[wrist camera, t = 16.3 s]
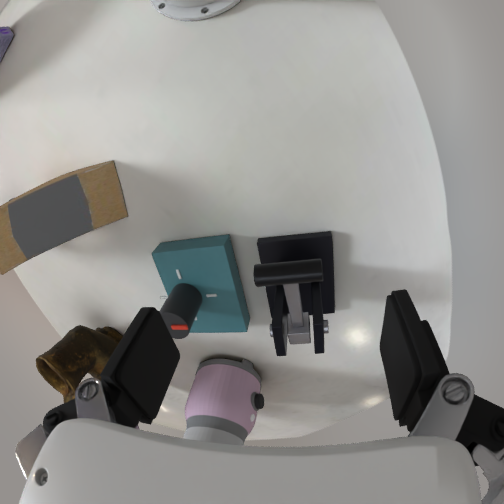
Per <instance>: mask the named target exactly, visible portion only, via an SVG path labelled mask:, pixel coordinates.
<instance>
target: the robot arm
mask: <svg viewBox="0 0 504 504" xmlns="http://www.w3.org/2000/svg"><path fill="white" fill-rule="evenodd" d="M240 1H241V0H150V2H151V4H152V6H153V7H154V8H155V9H156V10H157V11H158V12H160V13H161V14H163V15H165V16H167V17H169V18H172V19H176V20H181V21H194V20H202V19H206V18H210V17H213V16H216V15H218V14H221V13H223V12H225V11H227V10H228V9H230V8H232V7H233V6H234V5H236V4H237V3H239V2H240ZM206 11H208V12H207V13H206V14H205V12H206ZM380 352H381V357H382V361H383V365H384V370H385V374H386V379H387V384H388V389H389V394H390V399H391V404H392V409H393V416H394V419H395V420H399V425H400V426H405V425H407V429H408V431H409V432H410V434H409V435H408V437H399V438H392V439H384V440H376V441H368V442H360V443H351V444H341V445H340V444H339V445H326V446H308V447H264V446H244V445H231V444H221V443H212V442H204V441H197V440H190V439H184V438H178V437H172V436H167V435H161V434H157V433H152V432H148V431H144V430H140V429H139V427H138V423H139V421H140V422H142V423H146V424H151V423H152V420H153V419H155V418H156V416H157V414H158V412H159V409H160V406H161V404H162V401H163V399H164V396H165V394H166V391H167V389H168V386H169V384H170V381H171V379H172V376H173V374H174V371H175V369H176V367H177V364H178V362H179V359H180V353H179V350H178V348H177V346H176V345H175V343H174V341H173V339H172V337H171V335H170V333H169V330H168V328H167V326H166V324H165V322H164V320H163V318H162V316H161V314H160V312H159V311H157V310H156V308H154V307H143V308H141V309H140V311H139V312H138V314H137V315H136V317H135V318H134V320H133V321H132V323H131V325H130V326H129V328H128V329H127V331H126V332H125V334H124V336H123V337H122V339H121V340H120V342H119V344H118V345H117V347H116V349H115V350H114V352H113V354H112V355H111V357H110V359H109V360H108V362H107V364H106V365H105V367H104V369H103V370H102V372H101V374H100V376H101V378H102V379H101V381H100V380H98V379H96V378H89V379H86V380H84V381H82V382H81V383H80V384H79V385H78V387H77V389H76V391H75V398H74V399H72V400H70V401H68V402H66V403H64V404H62V405H60V406H58V407H55V408H54V409H52V410H50V411H49V412H48V413H47V414H46V416H45V417H44V421H43V426H42V425H41V424H40V425H39V426H38V427H36V429H34V430H33V431H32V432H30V433H29V434H28V435H27V436H26V437H25V438H23V439H22V440H21V441H20V442H19V443H18V444H17V446H16V451H15V452H16V457H17V459H18V462H19V464H20V467H21V469H22V471H23V474H24V476H25V478H26V480H27V482H26V485H25V487H24V490H23V493H22V496H21V499H20V502H19V504H504V409H503V408H502V407H499V406H497V405H495V404H493V403H491V402H489V401H487V400H485V399H483V398H481V397H479V396H477V395H475V394H474V386H473V384H472V382H471V381H470V379H469V378H468V377H466V376H464V375H463V374H458V373H453V374H449V371H448V368H447V366H446V363H445V360H444V358H443V355H442V353H441V350H440V348H439V345H438V343H437V341H436V338H435V336H434V334H433V332H432V329H431V327H430V325H429V323H428V321H426V320H423V321H421V320H420V318H419V315H418V313H417V311H416V309H415V307H414V304H413V302H412V300H411V298H410V296H409V294H408V292H407V290H397V291H392V293H391V295H388V296H387V299H386V307H385V314H384V321H383V328H382V334H381V340H380ZM475 466H480V467H481V468H482V469H483V471H484V473H483V474H484V476H485V477H486V478H487V480H488V481H489V489H488V492H487V494H486V495H485V497H484V498H483V499H482V500H481V493H480V487H479V481H478V476H477V472H476V469H475Z"/></svg>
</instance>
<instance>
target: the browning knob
mask: <svg viewBox="0 0 504 504" xmlns="http://www.w3.org/2000/svg"><path fill="white" fill-rule="evenodd" d="M201 304H202V295H201V293H200V292H199V290H198V289H197V288H195V287H194V286H192V285H190V284H186V283H180V284H177V285H176V286H174V288H173V289H172V291H171V293H170V294H169V296H168V298H167V299H166V301H165V303H164V305H163V306H162V308H161V310H160V311H159V312H160V314H161V316H162V318H163V320H164V322H165V324H166V326H167V328H168V330H169V333H170V335H171V337H172V338H175V339H182V338H185V337H186V336H187V335H188V334H189V332H190V329H191V327H192V325H193V322H194V320H195V318H196V315H197V313H198V311H199V308H200V306H201Z"/></svg>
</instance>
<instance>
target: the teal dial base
mask: <svg viewBox="0 0 504 504" xmlns="http://www.w3.org/2000/svg"><path fill="white" fill-rule="evenodd" d="M152 256H153V259H154V262H155V264H156V267H157V270H158V272H159V275H160V277H161V280H162V282H163V285H164V287H165V290H166V292H167V295H168V296H169V294H170V293H171V291H172V289H173V288H174V286H176V285H177V284H180V283H186V284H190V285H192V286H194V287H195V288H197V289H198V290H199V292H200V293H201V295H202V304H201V306H200V308H199V311H198V313H197V315H196V318H195V320H194V322H193V325H192V327H191V329H190V332H189V333H223V332H247V330H248V325H249V320H250V317H249V313H248V309H247V305H246V301H245V297H244V293H243V289H242V285H241V281H240V277H239V273H238V269H237V264H236V260H235V256H234V252H233V248H232V244H231V240H230V236H229V234H228V235H220V236H212V237H203V238H195V239H187V240H179V241H171V242H163V243H160V244H159V245H158V246H157V247H156V249H155V250H154V251H153V252H152ZM168 296H160V299H167V298H168Z"/></svg>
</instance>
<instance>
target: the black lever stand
mask: <svg viewBox="0 0 504 504" xmlns="http://www.w3.org/2000/svg"><path fill="white" fill-rule="evenodd" d="M257 246H258V251H259V256H260V261H261V264H268V263H279V262H290V261H301V260H311V259H321V261H322V270H323V281H320V282H309V283H298V285H299V291H300V298H301V304H302V311H303V312H309V315H313V329H314V347H315V354H319V353H324V333H328V320H323V314H329V313H335V298H334V263H333V242H332V234H331V231H327V232H317V233H307V234H297V235H287V236H277V237H268V238H259V239H258V242H257ZM265 287H266V292H267V297H268V302H269V307H270V313H271V318H272V324H270V336H271V337H273V338H274V343H275V349H276V354H277V356H286V352H287V336H288V335H287V314H289V308H288V304H287V300H286V295H285V291H284V287H283V285H273V286H265Z"/></svg>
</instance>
